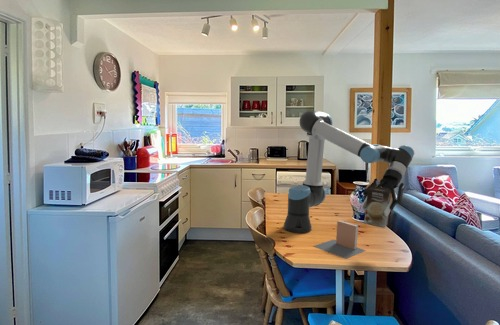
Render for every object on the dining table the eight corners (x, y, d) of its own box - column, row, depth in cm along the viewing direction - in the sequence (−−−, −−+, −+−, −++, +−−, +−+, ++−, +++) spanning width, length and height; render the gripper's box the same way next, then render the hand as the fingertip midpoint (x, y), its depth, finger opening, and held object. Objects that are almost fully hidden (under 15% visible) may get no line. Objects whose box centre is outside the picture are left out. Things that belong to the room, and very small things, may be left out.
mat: (312, 247, 157) (313, 246, 156) (333, 240, 167) (333, 239, 167) (346, 259, 143) (346, 258, 143) (366, 251, 153) (366, 250, 153)
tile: (336, 243, 162) (337, 221, 160) (338, 242, 163) (339, 220, 162) (354, 249, 154) (355, 226, 153) (356, 248, 155) (358, 225, 154)
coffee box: (363, 223, 149) (366, 188, 146) (366, 220, 154) (370, 186, 152) (384, 228, 144) (389, 192, 141) (387, 224, 149) (391, 189, 147)
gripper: (421, 182, 148) (401, 222, 139) (374, 175, 165) (353, 210, 157) (417, 171, 144) (396, 212, 135) (369, 165, 161) (348, 201, 153)
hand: (373, 211), depth 146 cm, fingers closed on coffee box, 10 cm apart
